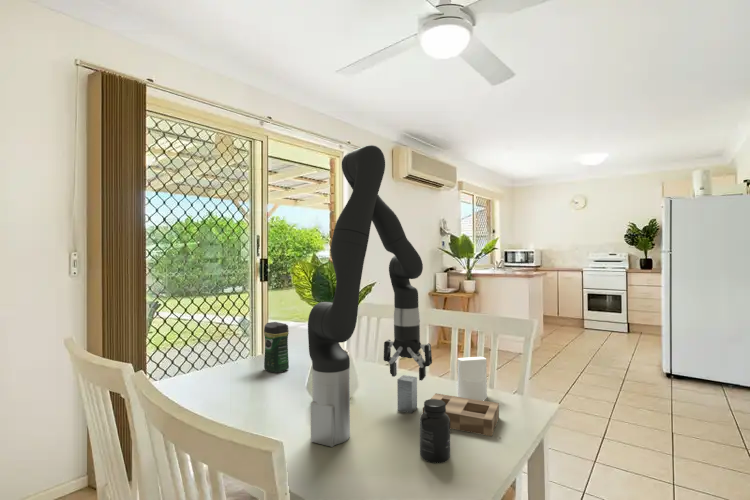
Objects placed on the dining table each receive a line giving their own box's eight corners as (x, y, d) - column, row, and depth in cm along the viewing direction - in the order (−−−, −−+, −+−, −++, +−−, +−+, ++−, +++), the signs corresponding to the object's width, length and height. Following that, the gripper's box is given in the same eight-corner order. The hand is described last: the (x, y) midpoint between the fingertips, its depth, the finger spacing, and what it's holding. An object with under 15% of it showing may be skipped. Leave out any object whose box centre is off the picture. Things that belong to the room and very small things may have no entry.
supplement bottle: (456, 461, 85) (455, 406, 85) (427, 466, 83) (427, 410, 83) (442, 446, 92) (441, 395, 92) (415, 451, 90) (414, 398, 90)
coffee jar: (292, 370, 152) (292, 322, 152) (274, 374, 146) (274, 325, 146) (278, 365, 158) (278, 319, 158) (260, 369, 153) (260, 322, 153)
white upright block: (465, 403, 118) (464, 363, 118) (453, 392, 127) (452, 355, 127) (492, 400, 120) (491, 361, 120) (478, 390, 129) (478, 354, 129)
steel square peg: (411, 413, 111) (411, 381, 111) (397, 410, 113) (397, 379, 113) (417, 407, 115) (416, 377, 115) (403, 405, 117) (403, 375, 117)
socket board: (491, 436, 96) (491, 420, 96) (422, 422, 104) (422, 408, 104) (498, 417, 107) (498, 403, 107) (435, 406, 115) (435, 393, 115)
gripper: (379, 323, 114) (380, 378, 114) (426, 326, 107) (427, 385, 108) (389, 318, 120) (390, 371, 120) (434, 321, 114) (434, 376, 114)
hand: (407, 377), depth 114 cm, fingers open, 8 cm apart
